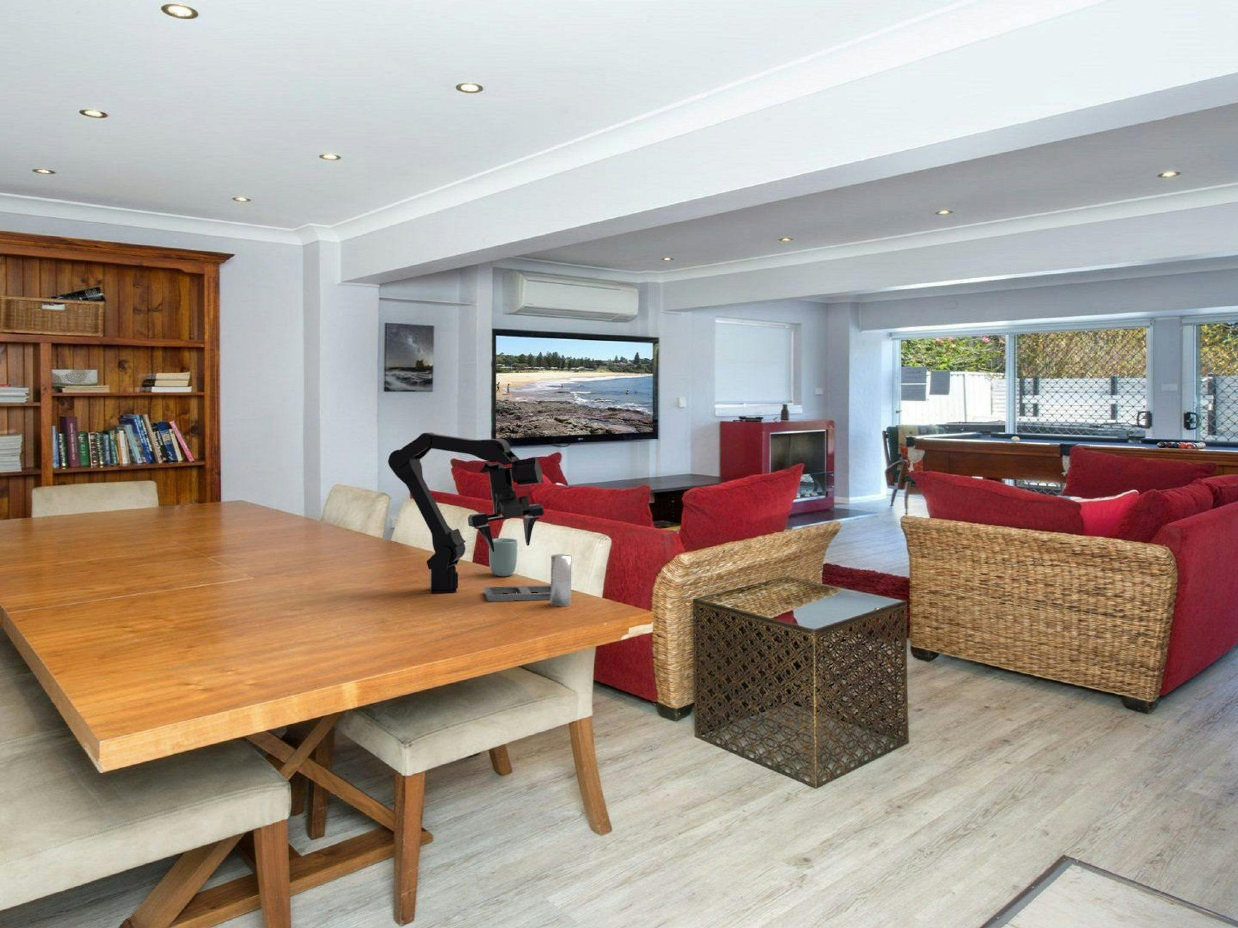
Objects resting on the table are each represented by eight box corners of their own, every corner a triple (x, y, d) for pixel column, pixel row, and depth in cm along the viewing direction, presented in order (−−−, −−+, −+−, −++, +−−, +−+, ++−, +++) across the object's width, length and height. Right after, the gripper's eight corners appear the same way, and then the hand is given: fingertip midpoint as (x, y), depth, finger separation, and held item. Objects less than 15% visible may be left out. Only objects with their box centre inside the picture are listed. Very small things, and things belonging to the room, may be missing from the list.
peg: (552, 607, 217) (553, 558, 216) (548, 602, 222) (549, 554, 221) (572, 606, 218) (573, 557, 217) (568, 601, 223) (569, 554, 222)
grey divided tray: (488, 601, 221) (488, 595, 221) (483, 592, 230) (483, 587, 230) (567, 598, 226) (567, 592, 226) (560, 590, 236) (560, 584, 235)
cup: (511, 578, 249) (512, 543, 249) (485, 576, 251) (485, 541, 250) (520, 573, 257) (520, 538, 256) (494, 571, 259) (494, 537, 258)
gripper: (473, 494, 216) (483, 558, 217) (546, 482, 224) (555, 544, 224) (463, 493, 227) (472, 554, 227) (533, 482, 234) (541, 541, 234)
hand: (510, 548), depth 228 cm, fingers open, 9 cm apart
